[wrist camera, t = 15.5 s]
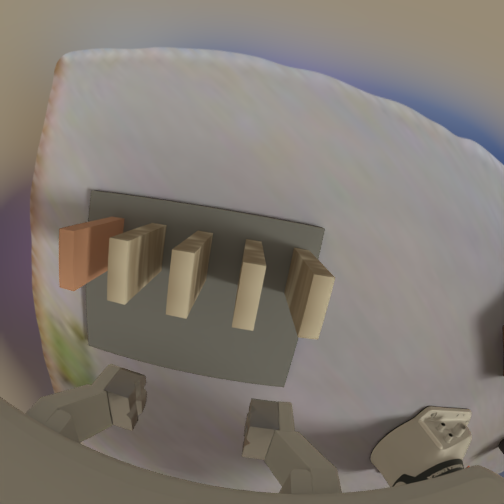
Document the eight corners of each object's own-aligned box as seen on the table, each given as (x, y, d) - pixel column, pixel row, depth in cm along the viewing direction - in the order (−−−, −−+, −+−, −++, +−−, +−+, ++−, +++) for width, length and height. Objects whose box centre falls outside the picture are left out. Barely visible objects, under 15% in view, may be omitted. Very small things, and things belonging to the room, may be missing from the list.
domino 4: (308, 250, 30) (335, 277, 20) (298, 295, 31) (317, 339, 21) (294, 247, 30) (313, 274, 20) (284, 292, 31) (297, 337, 21)
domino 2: (213, 233, 29) (194, 253, 20) (206, 279, 30) (186, 318, 21) (197, 230, 29) (172, 249, 20) (191, 276, 30) (165, 314, 21)
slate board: (322, 227, 30) (324, 228, 29) (283, 382, 34) (283, 387, 33) (95, 190, 29) (91, 190, 28) (92, 342, 33) (88, 345, 32)
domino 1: (166, 225, 29) (128, 241, 20) (161, 270, 30) (124, 304, 20) (152, 222, 29) (109, 237, 19) (147, 268, 30) (107, 300, 20)
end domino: (124, 218, 29) (74, 231, 19) (121, 262, 30) (73, 291, 20) (112, 216, 29) (59, 228, 19) (109, 260, 30) (59, 287, 20)
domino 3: (261, 241, 30) (266, 266, 20) (252, 287, 31) (253, 330, 21) (246, 238, 30) (243, 262, 20) (237, 285, 31) (231, 327, 21)
